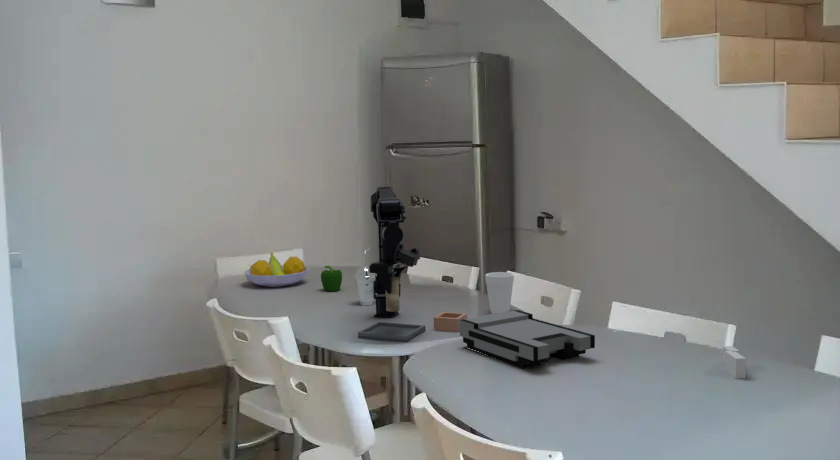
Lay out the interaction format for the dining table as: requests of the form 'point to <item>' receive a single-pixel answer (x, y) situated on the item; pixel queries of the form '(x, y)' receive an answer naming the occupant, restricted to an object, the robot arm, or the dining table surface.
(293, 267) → the fruit bowl
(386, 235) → the robot arm
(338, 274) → the bell pepper
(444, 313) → the terracotta square frame
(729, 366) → the napkin holder
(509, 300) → the foam cup
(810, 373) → the dining table surface
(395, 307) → the dowel pin
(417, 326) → the charcoal tray
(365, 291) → the cup with straw
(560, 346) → the game console
